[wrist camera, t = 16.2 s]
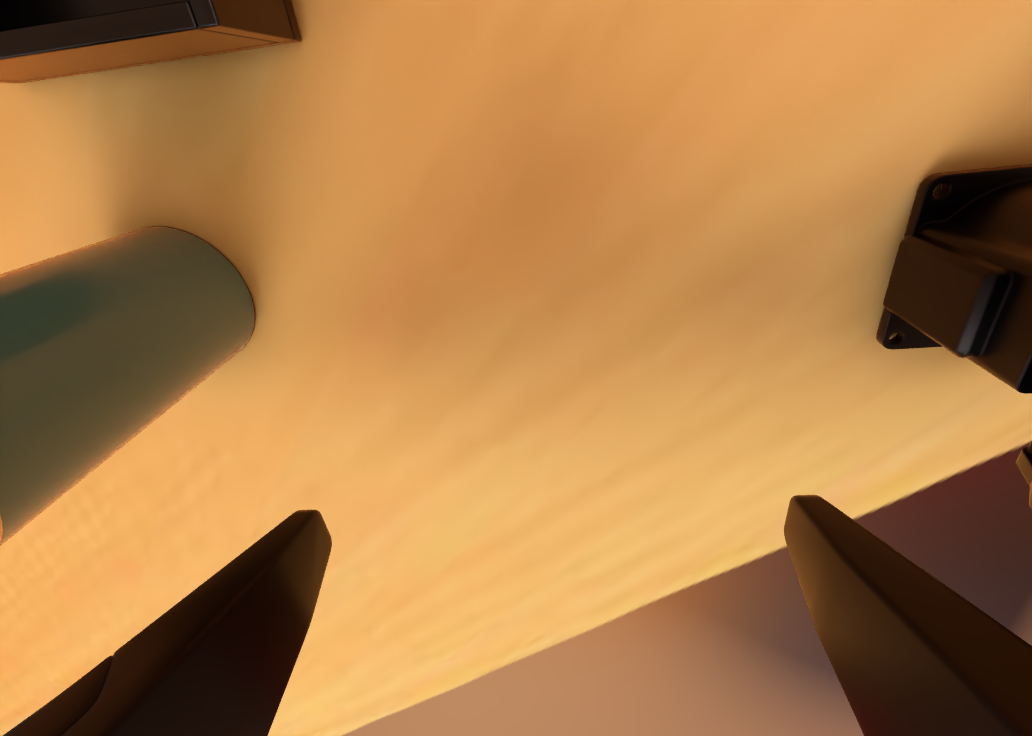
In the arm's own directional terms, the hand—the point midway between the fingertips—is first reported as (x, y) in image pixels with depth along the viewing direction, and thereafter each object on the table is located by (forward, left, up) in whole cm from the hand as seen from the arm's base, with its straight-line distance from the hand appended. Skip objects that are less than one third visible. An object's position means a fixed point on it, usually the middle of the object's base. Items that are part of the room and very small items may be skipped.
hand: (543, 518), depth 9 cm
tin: (+16, -1, -12) cm, 20 cm away
